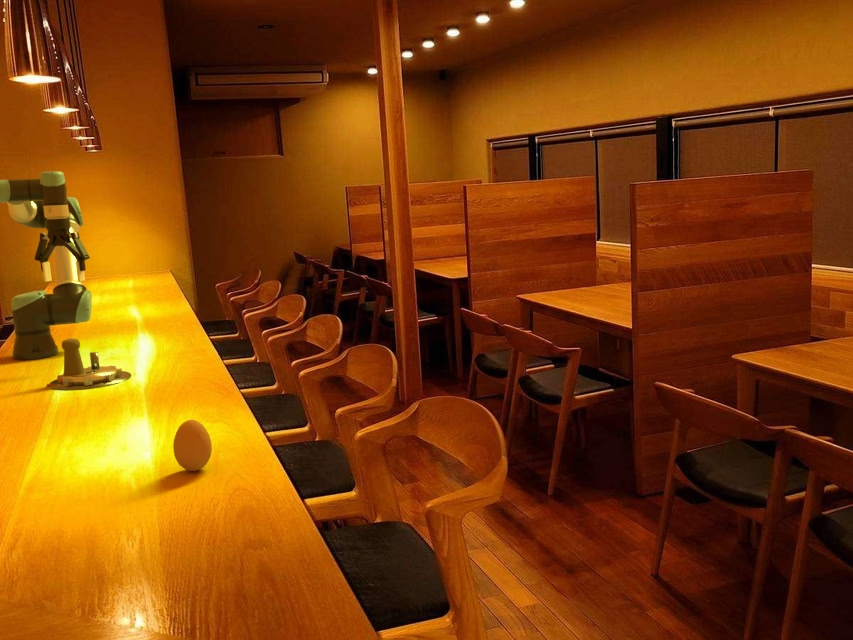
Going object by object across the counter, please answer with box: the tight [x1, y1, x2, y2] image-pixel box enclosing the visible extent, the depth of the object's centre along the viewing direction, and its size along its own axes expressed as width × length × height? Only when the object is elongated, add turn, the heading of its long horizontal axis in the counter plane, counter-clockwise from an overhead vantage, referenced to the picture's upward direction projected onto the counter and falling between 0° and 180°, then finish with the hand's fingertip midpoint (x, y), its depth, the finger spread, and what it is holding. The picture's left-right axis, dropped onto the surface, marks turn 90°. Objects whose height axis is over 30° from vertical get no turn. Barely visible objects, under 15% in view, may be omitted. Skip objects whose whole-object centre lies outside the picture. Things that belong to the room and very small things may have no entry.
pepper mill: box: [61, 338, 85, 376], centre depth 246 cm, size 6×6×11 cm
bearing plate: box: [46, 370, 132, 391], centre depth 250 cm, size 24×24×1 cm
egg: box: [172, 419, 213, 472], centre depth 164 cm, size 8×8×11 cm
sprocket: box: [56, 351, 123, 386], centre depth 249 cm, size 19×19×7 cm
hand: (64, 281), depth 271 cm, fingers open, 13 cm apart
